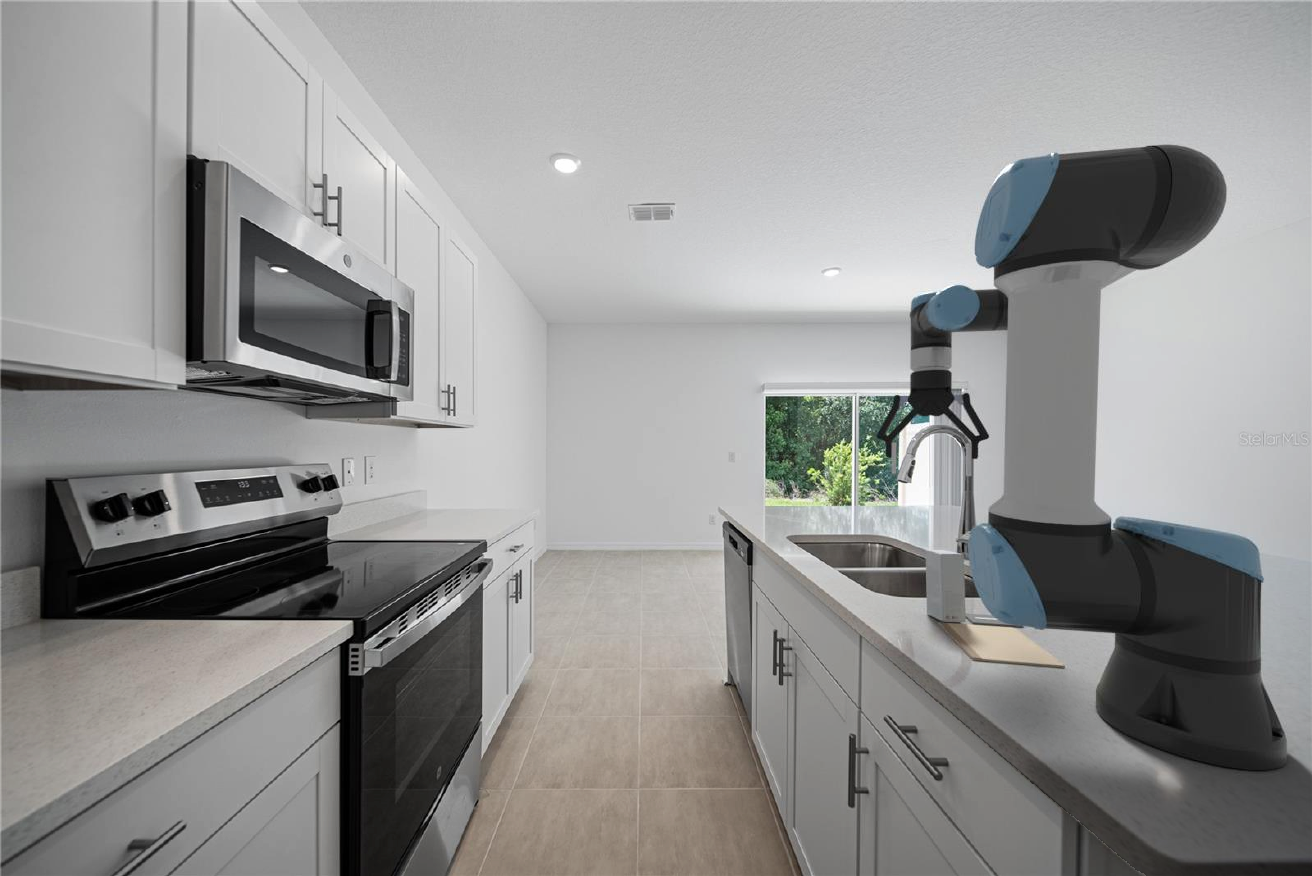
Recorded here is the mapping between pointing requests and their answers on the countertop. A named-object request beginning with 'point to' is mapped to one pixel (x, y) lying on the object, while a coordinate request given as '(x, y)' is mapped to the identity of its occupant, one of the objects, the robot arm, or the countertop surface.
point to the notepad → (999, 645)
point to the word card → (986, 620)
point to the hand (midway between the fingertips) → (930, 474)
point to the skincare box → (945, 585)
